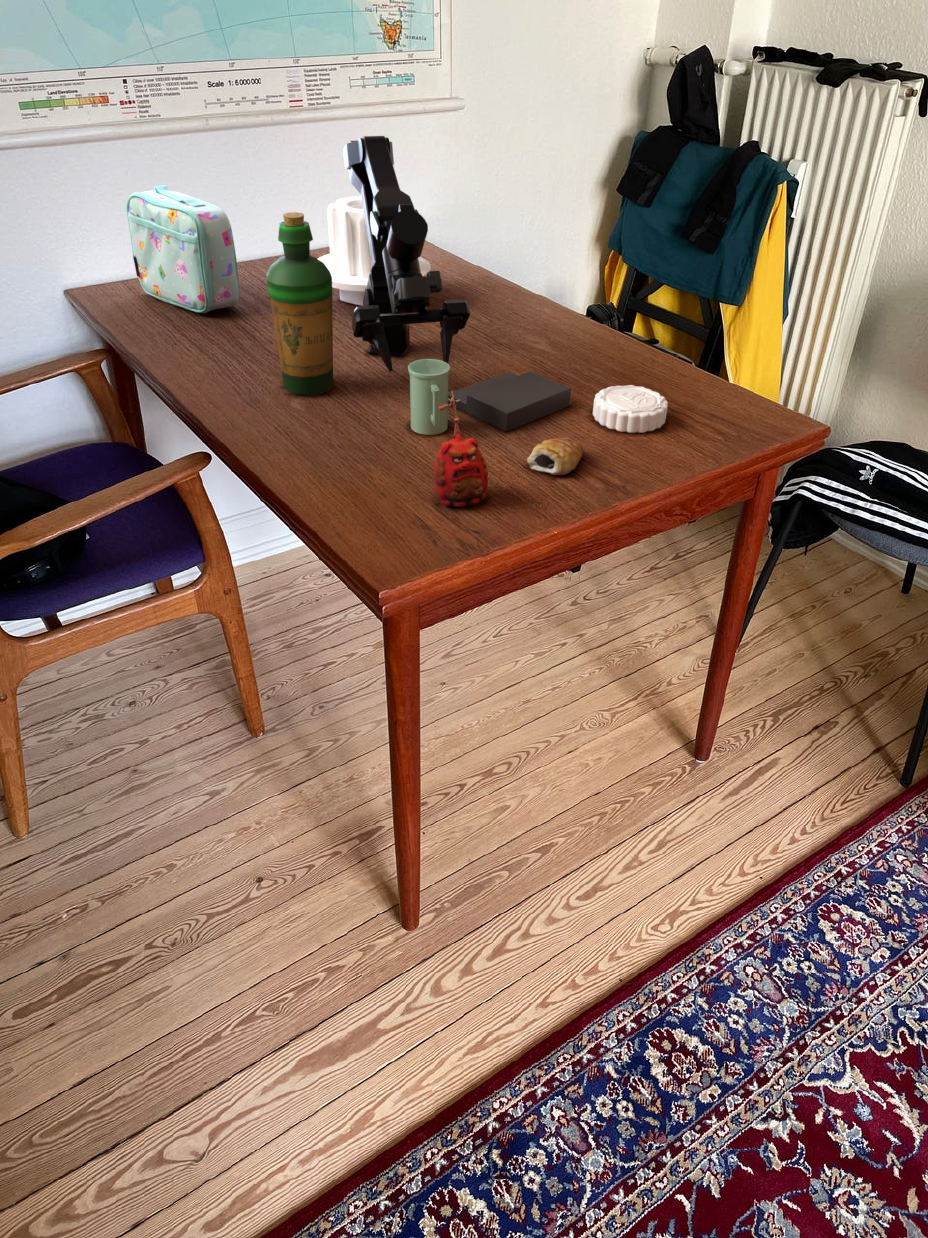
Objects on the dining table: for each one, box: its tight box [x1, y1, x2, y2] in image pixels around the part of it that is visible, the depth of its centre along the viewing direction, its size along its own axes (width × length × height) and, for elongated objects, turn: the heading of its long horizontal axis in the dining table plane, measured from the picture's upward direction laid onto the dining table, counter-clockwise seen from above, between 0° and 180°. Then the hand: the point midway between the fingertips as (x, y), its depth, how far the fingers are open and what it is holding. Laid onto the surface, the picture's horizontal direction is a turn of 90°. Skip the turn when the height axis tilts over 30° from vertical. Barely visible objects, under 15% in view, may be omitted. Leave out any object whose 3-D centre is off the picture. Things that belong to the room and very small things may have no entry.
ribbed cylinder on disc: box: [317, 195, 432, 307], centre depth 188 cm, size 25×25×19 cm
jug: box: [407, 358, 451, 436], centre depth 142 cm, size 9×6×10 cm
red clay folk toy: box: [434, 390, 489, 508], centre depth 123 cm, size 8×7×15 cm
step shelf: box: [448, 370, 572, 432], centre depth 152 cm, size 14×15×3 cm
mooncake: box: [592, 384, 669, 434], centre depth 148 cm, size 12×12×4 cm
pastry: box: [526, 437, 584, 476], centre depth 135 cm, size 9×7×4 cm
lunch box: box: [126, 184, 240, 314], centre depth 183 cm, size 27×10×21 cm, turn 49°
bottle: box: [265, 211, 334, 396], centre depth 148 cm, size 11×11×28 cm
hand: (419, 368), depth 146 cm, fingers open, 9 cm apart
